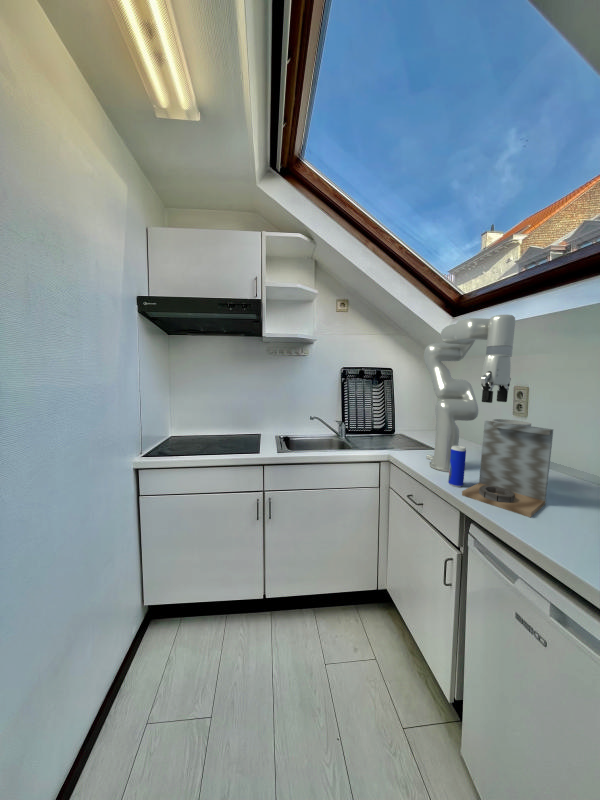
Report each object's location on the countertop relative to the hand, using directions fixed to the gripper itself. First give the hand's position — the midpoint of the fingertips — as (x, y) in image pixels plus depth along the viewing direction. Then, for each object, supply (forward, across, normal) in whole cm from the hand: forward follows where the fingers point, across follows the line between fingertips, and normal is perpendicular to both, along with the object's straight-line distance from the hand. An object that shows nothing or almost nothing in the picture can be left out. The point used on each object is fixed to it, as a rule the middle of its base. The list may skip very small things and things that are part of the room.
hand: (494, 402), depth 105 cm
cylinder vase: (+34, -18, -2) cm, 38 cm away
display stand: (+33, -1, +5) cm, 34 cm away
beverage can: (+34, +1, -11) cm, 35 cm away
